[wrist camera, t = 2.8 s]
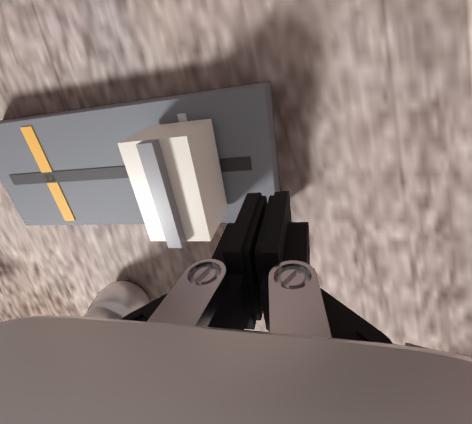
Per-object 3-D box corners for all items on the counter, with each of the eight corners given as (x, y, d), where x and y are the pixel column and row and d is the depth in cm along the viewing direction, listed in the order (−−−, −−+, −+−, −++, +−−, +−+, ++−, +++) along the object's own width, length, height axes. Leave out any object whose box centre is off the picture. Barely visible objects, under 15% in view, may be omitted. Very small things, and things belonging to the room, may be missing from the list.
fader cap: (211, 118, 20) (180, 139, 16) (228, 208, 23) (207, 248, 19) (152, 125, 21) (109, 147, 17) (176, 210, 25) (145, 247, 20)
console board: (270, 81, 21) (263, 86, 19) (281, 204, 26) (277, 222, 23) (1, 120, 28) (-31, 128, 26) (48, 211, 33) (24, 225, 30)
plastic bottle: (116, 309, 39) (-38, 512, 22) (103, 269, 36) (-89, 473, 19) (161, 317, 38) (33, 541, 21) (151, 276, 34) (-9, 503, 17)
